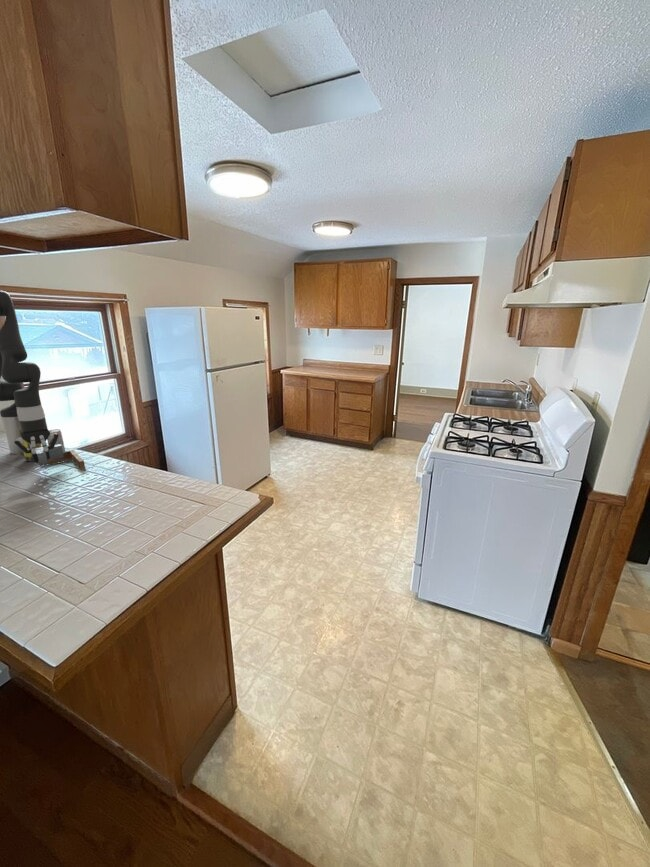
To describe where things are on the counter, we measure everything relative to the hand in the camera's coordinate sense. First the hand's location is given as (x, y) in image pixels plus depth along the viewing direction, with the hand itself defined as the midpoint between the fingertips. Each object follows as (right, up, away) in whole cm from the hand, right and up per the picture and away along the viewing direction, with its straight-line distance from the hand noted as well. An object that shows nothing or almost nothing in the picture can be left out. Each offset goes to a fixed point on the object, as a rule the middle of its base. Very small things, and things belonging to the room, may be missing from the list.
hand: (42, 460), depth 132 cm
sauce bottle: (-19, -1, +19) cm, 26 cm away
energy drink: (-11, 0, +22) cm, 25 cm away
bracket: (+1, 0, +3) cm, 3 cm away
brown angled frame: (0, -3, +11) cm, 11 cm away
